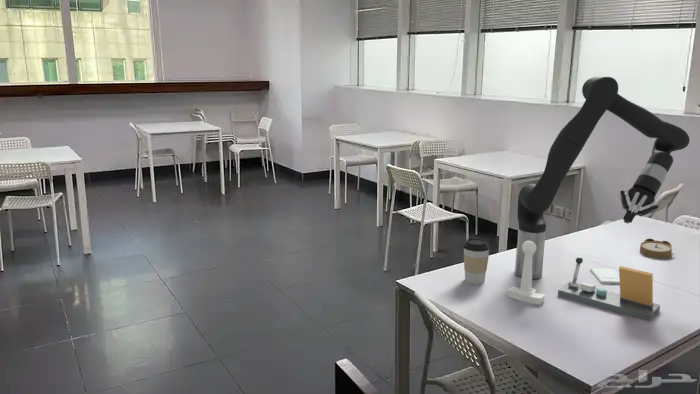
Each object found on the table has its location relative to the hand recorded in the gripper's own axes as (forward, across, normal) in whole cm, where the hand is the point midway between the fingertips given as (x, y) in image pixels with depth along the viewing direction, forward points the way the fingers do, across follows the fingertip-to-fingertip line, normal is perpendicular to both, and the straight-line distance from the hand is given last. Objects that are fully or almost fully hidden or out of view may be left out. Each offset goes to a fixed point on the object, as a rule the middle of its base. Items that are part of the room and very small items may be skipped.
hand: (626, 222), depth 184 cm
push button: (+26, +4, +1) cm, 26 cm away
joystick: (+39, -15, -2) cm, 42 cm away
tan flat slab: (+24, +14, -3) cm, 28 cm away
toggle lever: (+27, -5, +3) cm, 27 cm away
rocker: (+26, 0, +2) cm, 26 cm away
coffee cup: (+42, -33, +5) cm, 54 cm away
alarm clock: (-12, +14, +50) cm, 54 cm away
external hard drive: (+15, +3, +21) cm, 26 cm away
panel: (+27, +7, +1) cm, 28 cm away
